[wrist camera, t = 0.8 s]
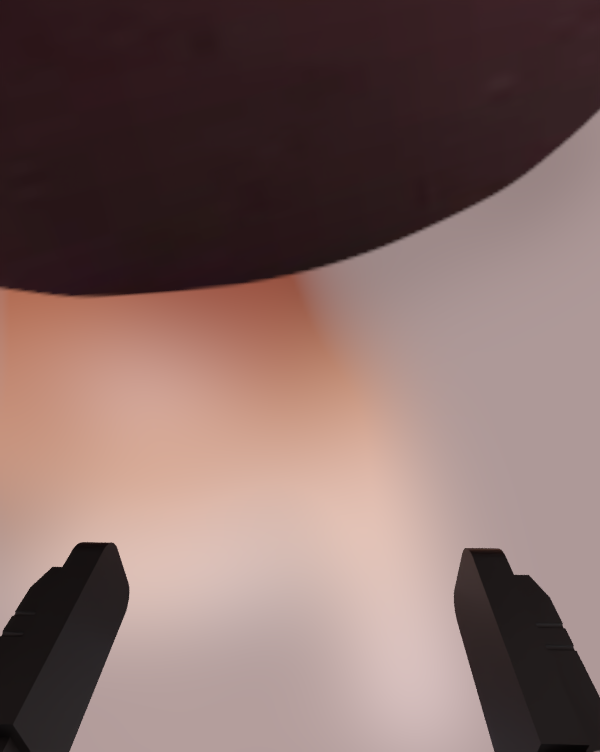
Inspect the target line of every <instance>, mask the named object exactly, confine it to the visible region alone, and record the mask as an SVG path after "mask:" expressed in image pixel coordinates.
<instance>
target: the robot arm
mask: <svg viewBox="0 0 600 752" xmlns="http://www.w3.org/2000/svg"><path fill="white" fill-rule="evenodd" d="M128 600H129V584H128V581H127V577H126V574H125V571H124V568H123V565H122V562H121V559H120V556H119V552H118V549H117V547H116V545H115V544H114V543H93V542H82V543H79V544H77V545H76V546H75V547H74V549H73V550H72V552H71V554H70V555H69V557H68V559H67V561H66V562H65V564H64V565H63V567H52V568H51V569H50V570H49V571H48V572H47V573H45V574H44V576H42V577H41V578H40V579H39V580H38V581H37V582H36V583H35V584H34V585H33V586H32V587H30V589H29V591H28V592H27V594H26V595H25V597H24V599H23V600H22V602H21V603H20V605H19V606H18V608H17V610H16V611H15V612H16V613H15V615H14V616H12V617H11V619H10V620H9V622H8V624H7V625H6V627H5V628H4V630H3V634H2V636H0V752H69V751H70V748H71V746H72V744H73V741H74V739H75V736H76V734H77V731H78V729H79V726H80V724H81V721H82V719H83V716H84V714H85V711H86V709H87V706H88V704H89V702H90V699H91V697H92V694H93V692H94V689H95V686H96V684H97V682H98V679H99V677H100V674H101V672H102V669H103V667H104V665H105V662H106V659H107V657H108V654H109V652H110V649H111V647H112V645H113V642H114V640H115V637H116V635H117V632H118V630H119V627H120V625H121V622H122V620H123V617H124V615H125V612H126V609H127V605H128ZM454 606H455V613H456V618H457V622H458V625H459V629H460V633H461V636H462V639H463V643H464V647H465V650H466V654H467V657H468V660H469V664H470V668H471V671H472V675H473V678H474V682H475V685H476V689H477V692H478V696H479V699H480V702H481V706H482V710H483V713H484V717H485V720H486V724H487V727H488V731H489V734H490V738H491V741H492V745H493V748H494V751H495V752H600V697H599V695H598V693H597V691H596V689H595V687H594V685H593V683H592V681H591V679H590V677H589V675H588V673H587V671H586V669H585V667H584V665H583V663H582V661H581V660H580V657H579V655H578V653H577V651H575V650H574V648H573V643H572V641H571V639H570V637H569V635H568V633H567V631H566V629H565V628H563V626H562V624H563V623H562V621H561V619H560V617H559V615H558V613H557V611H556V609H555V607H554V605H553V603H552V601H551V599H550V597H549V596H548V595H547V594H546V593H545V592H544V591H543V590H542V589H541V588H540V587H539V586H538V585H537V583H536V582H535V581H534V580H533V579H532V578H531V577H530V576H529V575H514V574H513V572H512V570H511V567H510V565H509V563H508V561H507V559H506V556H505V554H504V553H503V551H502V550H500V549H494V548H488V549H487V548H465V549H464V550H463V553H462V558H461V562H460V567H459V571H458V576H457V581H456V586H455V590H454Z"/></svg>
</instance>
